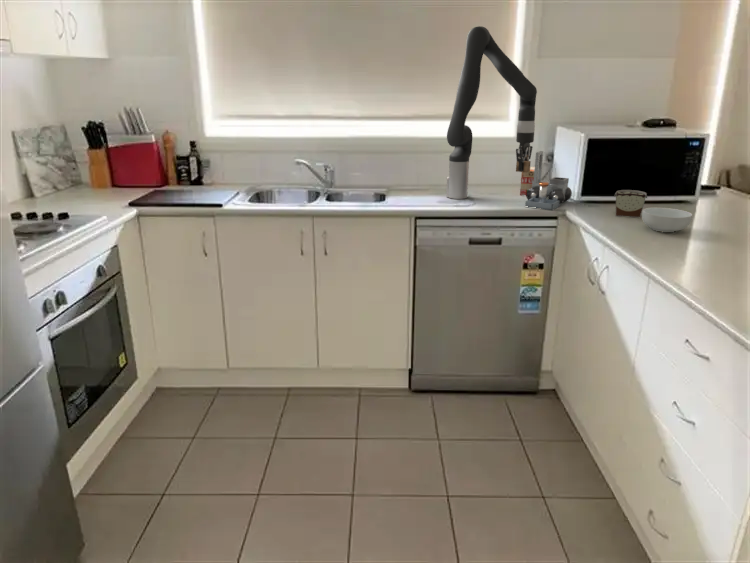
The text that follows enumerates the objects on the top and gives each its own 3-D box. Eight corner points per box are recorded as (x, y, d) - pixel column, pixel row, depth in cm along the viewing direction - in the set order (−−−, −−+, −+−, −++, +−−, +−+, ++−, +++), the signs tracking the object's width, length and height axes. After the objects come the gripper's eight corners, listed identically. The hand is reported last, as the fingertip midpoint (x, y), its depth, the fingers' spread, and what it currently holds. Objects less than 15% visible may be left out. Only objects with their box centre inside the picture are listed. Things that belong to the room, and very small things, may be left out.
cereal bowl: (686, 238, 205) (690, 219, 203) (636, 232, 214) (639, 213, 211) (691, 228, 219) (694, 209, 217) (643, 222, 227) (646, 205, 225)
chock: (515, 171, 262) (516, 161, 261) (519, 170, 265) (520, 160, 264) (526, 172, 259) (527, 162, 258) (529, 171, 262) (530, 161, 261)
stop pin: (535, 205, 255) (537, 183, 252) (539, 203, 258) (541, 181, 255) (544, 206, 253) (546, 183, 250) (547, 205, 256) (550, 182, 253)
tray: (525, 207, 256) (525, 201, 255) (532, 203, 263) (533, 197, 262) (552, 210, 249) (552, 204, 248) (559, 206, 256) (559, 200, 255)
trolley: (525, 202, 265) (529, 153, 257) (534, 197, 274) (538, 150, 267) (562, 206, 255) (567, 155, 248) (571, 201, 265) (576, 152, 257)
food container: (643, 214, 240) (646, 190, 237) (644, 217, 235) (648, 193, 231) (611, 212, 244) (614, 189, 241) (611, 215, 239) (614, 191, 235)
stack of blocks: (524, 187, 299) (526, 163, 295) (537, 188, 297) (539, 164, 293) (519, 195, 280) (521, 170, 276) (533, 196, 278) (535, 170, 274)
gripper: (527, 133, 249) (524, 173, 255) (539, 130, 260) (536, 168, 265) (511, 132, 253) (508, 171, 259) (523, 129, 264) (521, 167, 270)
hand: (522, 170), depth 262 cm, fingers closed on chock, 4 cm apart
